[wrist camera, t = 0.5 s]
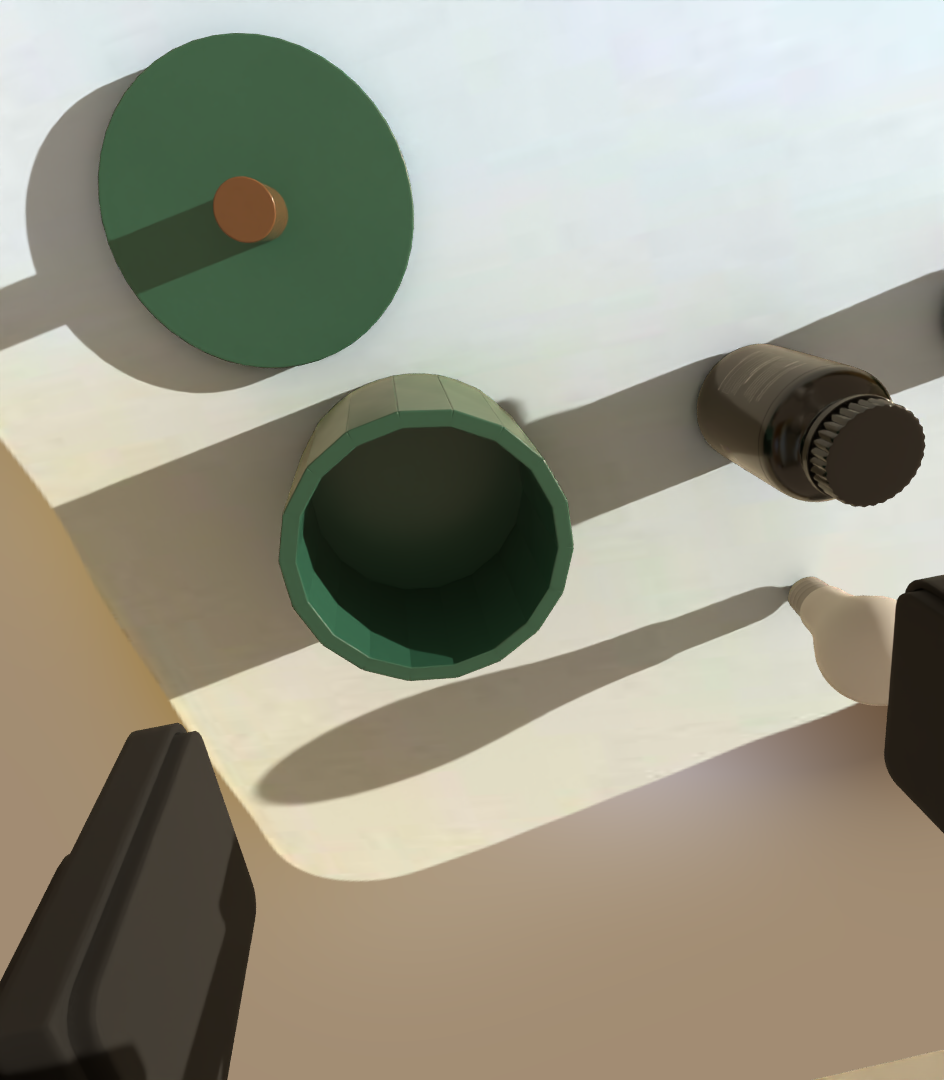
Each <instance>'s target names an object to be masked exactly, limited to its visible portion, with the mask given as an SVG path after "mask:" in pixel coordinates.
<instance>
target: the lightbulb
mask: <svg viewBox="0 0 944 1080" xmlns="http://www.w3.org/2000/svg"><path fill="white" fill-rule="evenodd" d="M788 601H789V604H790V606H791V607H792V608H793V609H794V610H795V612H796V613H797V614H798V615H799V616H800V617H801V620H802V623H803V624H804V625H805V627H806V628H807V629H808V630H809V631H810V633H811V634H812V636H813V644H814V651H815V657H816V662H817V665H818V667H819V669H820V671H821V673H822V675H823V677H824V678H825V679H826V681H827V682H828V683H829V684H830V685H831V686H832V687H833V688H834V689H835V690H836V691H838V692H839V693H840V694H842V695H844V696H845V697H847V698H849V699H852V700H854V701H856V702H859V703H862V704H868V705H880V706H886V705H888V699H889V686H890V673H891V661H892V648H893V635H894V622H895V609H896V602H897V600H895V599H892V598H888V597H884V596H864V595H862V596H854V595H851V594H848V593H846V592H845V591H843V590H841V589H839V588H837V587H833V586H829V585H828V584H826V583H825V582H823V581H822V580H820V579H818V578H816V577H805V578H802V579H800V580H798V581H797V582H796V583H795V584H794V585H793V586H792V587H791V589H790V591H789V595H788Z"/></svg>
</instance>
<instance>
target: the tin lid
mask: <svg viewBox="0 0 944 1080" xmlns="http://www.w3.org/2000/svg"><path fill="white" fill-rule="evenodd" d="M98 195H99V204H100V211H101V218H102V223H103V226H104V230H105V233H106V237H107V241H108V244H109V246H110V249H111V251H112V253H113V256H114V258H115V261H116V263H117V265H118V267H119V269H120V270H121V272H122V274H123V276H124V278H125V280H126V281H127V283H128V285H129V286H130V287H131V289H132V290H133V292H134V293H135V294H136V296H137V297H138V299H139V300H140V301H141V302H142V303H143V305H144V306H145V307H146V308H147V309H148V310H149V311H150V312H151V313H152V315H153V316H154V317H155V318H156V319H157V320H159V321H160V322H161V323H162V324H163V325H164V326H165V327H166V328H168V329H169V330H170V331H171V332H172V333H174V334H175V335H177V336H178V337H180V338H181V339H183V340H184V341H185V342H187V343H188V344H190V345H192V346H194V347H196V348H198V349H199V350H201V351H203V352H205V353H207V354H210V355H212V356H215V357H217V358H220V359H223V360H225V361H229V362H233V363H237V364H241V365H245V366H253V367H261V368H285V367H292V366H300V365H304V364H308V363H312V362H315V361H319V360H321V359H324V358H326V357H328V356H331V355H333V354H335V353H337V352H339V351H341V350H342V349H344V348H346V347H347V346H349V345H351V344H352V343H353V342H355V341H356V340H357V339H358V338H360V337H361V336H362V335H363V334H365V333H366V332H367V331H368V330H369V329H370V328H371V327H372V326H373V325H374V324H375V323H376V322H377V320H378V319H379V318H380V317H381V316H382V314H383V313H384V311H385V310H386V309H387V307H388V306H389V304H390V303H391V301H392V299H393V297H394V296H395V294H396V292H397V290H398V288H399V286H400V284H401V281H402V278H403V276H404V273H405V271H406V268H407V264H408V260H409V256H410V251H411V247H412V238H413V229H414V210H413V199H412V191H411V184H410V180H409V176H408V172H407V168H406V164H405V161H404V159H403V156H402V153H401V151H400V148H399V145H398V143H397V141H396V139H395V137H394V135H393V133H392V131H391V129H390V127H389V125H388V123H387V122H386V120H385V119H384V117H383V116H382V114H381V113H380V111H379V110H378V108H377V107H376V106H375V104H374V103H373V101H372V100H371V99H370V98H369V97H368V96H367V95H366V93H365V92H364V91H363V90H362V89H361V88H360V87H359V86H358V85H357V84H356V83H355V82H354V81H353V80H352V79H351V78H350V77H348V76H347V75H346V74H345V73H344V72H343V71H342V70H341V69H339V68H338V67H336V66H335V65H333V64H332V63H330V62H329V61H327V60H326V59H325V58H323V57H322V56H320V55H318V54H316V53H314V52H312V51H310V50H308V49H306V48H304V47H302V46H300V45H297V44H294V43H291V42H288V41H285V40H282V39H280V38H275V37H270V36H264V35H259V34H245V33H231V34H221V35H212V36H209V37H205V38H201V39H197V40H193V41H191V42H188V43H186V44H184V45H182V46H179V47H177V48H175V49H173V50H171V51H170V52H168V53H166V54H165V55H163V56H162V57H160V58H159V59H157V60H156V61H154V62H153V63H152V64H151V65H150V66H149V67H148V68H147V69H145V70H144V71H143V72H142V73H141V74H140V75H139V76H138V77H137V78H136V79H135V81H134V82H133V83H132V84H131V86H130V87H129V88H128V89H127V91H126V92H125V93H124V95H123V97H122V98H121V100H120V102H119V104H118V105H117V107H116V109H115V110H114V112H113V115H112V117H111V120H110V122H109V125H108V127H107V130H106V133H105V137H104V141H103V145H102V149H101V153H100V162H99V171H98Z"/></svg>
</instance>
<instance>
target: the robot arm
mask: <svg viewBox="0 0 944 1080" xmlns="http://www.w3.org/2000/svg"><path fill="white" fill-rule="evenodd" d="M884 756H885V763H886V767H887V769H888V772H889V774H890V776H891V778H892V779H893V781H894V782H895V783H896V784H897V785H898V786H899V787H900V788H901V789H902V791H904V792H905V793H906V795H907V796H908V797H909V798H910V799H911V800H912V801H913V802H914V803H915V804H916V805H917V806H918V807H919V808H920V809H921V810H922V811H923V812H924V813H925V814H926V815H927V816H928V817H929V818H930V819H931V821H932V822H933V823H934V824H935V825H936V826H937V827H938V828H939V829H940V830H941V831H942V832H943V833H944V575H940V576H935V577H930V578H925V579H920V580H915V581H913V582H911V583H910V584H909V585H908V587H907V589H906V592H905V593H904V594H902V595H900V596H899V598H898V599H897V602H896V609H895V622H894V635H893V648H892V661H891V673H890V686H889V699H888V712H887V726H886V738H885V751H884ZM255 915H256V899H255V892H254V887H253V884H252V881H251V878H250V875H249V872H248V869H247V866H246V863H245V860H244V857H243V854H242V852H241V849H240V846H239V843H238V840H237V837H236V834H235V831H234V828H233V826H232V823H231V820H230V817H229V814H228V811H227V808H226V805H225V803H224V800H223V797H222V794H221V791H220V788H219V785H218V782H217V779H216V776H215V773H214V771H213V768H212V765H211V762H210V759H209V756H208V753H207V750H206V747H205V744H204V742H203V739H202V737H201V735H200V734H199V733H198V732H197V731H193V732H188V733H187V732H186V730H185V728H184V727H183V726H182V725H181V724H179V723H174V724H169V725H164V726H159V727H154V728H149V729H143V730H138V731H135V732H132V733H131V734H130V735H129V737H128V738H127V740H126V742H125V744H124V746H123V748H122V750H121V753H120V754H119V756H118V758H117V760H116V762H115V764H114V766H113V768H112V771H111V773H110V774H109V777H108V779H107V781H106V783H105V785H104V787H103V789H102V791H101V793H100V795H99V797H98V799H97V801H96V803H95V805H94V807H93V809H92V811H91V813H90V815H89V817H88V819H87V821H86V823H85V825H84V827H83V829H82V831H81V833H80V835H79V837H78V839H77V842H76V843H75V845H74V847H73V849H72V851H71V853H70V854H69V855H67V856H66V857H65V858H64V859H63V861H62V862H61V864H60V865H59V867H58V868H57V870H56V872H55V874H54V876H53V878H52V880H51V882H50V884H49V886H48V888H47V890H46V892H45V894H44V896H43V898H42V900H41V902H40V904H39V906H38V908H37V910H36V912H35V914H34V916H33V918H32V920H31V922H30V924H29V926H28V928H27V930H26V932H25V934H24V936H23V938H22V940H21V942H20V944H19V946H18V948H17V950H16V952H15V954H14V955H13V957H12V959H11V961H10V963H9V965H8V967H7V969H6V971H5V973H4V975H3V977H2V979H1V981H0V1080H227V1078H228V1072H229V1066H230V1060H231V1055H232V1049H233V1043H234V1037H235V1032H236V1026H237V1020H238V1014H239V1009H240V1003H241V997H242V991H243V985H244V980H245V974H246V968H247V963H248V957H249V950H250V945H251V940H252V933H253V927H254V922H255ZM814 1080H944V1050H939V1051H935V1052H931V1053H926V1054H922V1055H918V1056H913V1057H909V1058H905V1059H901V1060H896V1061H892V1062H888V1063H883V1064H879V1065H874V1066H870V1067H866V1068H861V1069H857V1070H853V1071H849V1072H844V1073H840V1074H835V1075H831V1076H827V1077H823V1078H818V1079H814Z"/></svg>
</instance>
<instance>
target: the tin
mask: <svg viewBox="0 0 944 1080" xmlns="http://www.w3.org/2000/svg"><path fill="white" fill-rule="evenodd" d="M573 545H574V544H573V537H572V529H571V522H570V515H569V508H568V502H567V498H566V497H565V495H564V493H563V491H562V490H561V488H560V486H559V484H558V483H557V481H556V479H555V477H554V475H553V474H552V472H551V470H550V468H549V467H548V465H547V463H546V461H545V460H544V458H543V457H542V456H541V454H540V453H539V452H538V450H537V449H536V448H535V447H534V445H533V444H532V443H531V441H530V440H529V439H528V437H527V436H526V435H525V433H524V432H523V431H522V430H521V428H520V427H519V426H518V424H517V423H516V422H515V420H514V419H513V418H512V417H511V415H510V414H509V413H507V412H506V411H505V410H504V409H503V408H501V407H500V406H499V405H498V404H497V403H496V402H495V401H493V400H492V399H491V398H490V397H488V396H487V395H486V394H484V393H483V392H482V391H481V390H479V389H477V388H475V387H472V386H470V385H468V384H465V383H463V382H461V381H458V380H455V379H452V378H448V377H444V376H440V375H432V374H403V375H395V376H390V377H387V378H383V379H379V380H376V381H374V382H372V383H369V384H367V385H364V386H362V387H360V388H359V389H357V390H355V391H353V392H352V393H350V394H349V395H347V396H346V397H345V398H343V399H342V400H341V401H340V402H338V403H337V404H336V405H335V406H334V407H333V408H332V409H331V410H330V411H329V412H328V413H327V414H326V415H325V416H324V417H323V418H322V419H321V420H320V422H319V423H318V424H317V426H316V428H315V430H314V432H313V434H312V436H311V438H310V440H309V442H308V444H307V446H306V448H305V450H304V452H303V454H302V456H301V459H300V461H299V465H298V468H297V471H296V474H295V477H294V480H293V483H292V486H291V490H290V493H289V496H288V499H287V502H286V505H285V508H284V511H283V515H282V527H281V538H280V550H279V565H280V568H281V572H282V575H283V578H284V581H285V585H286V588H287V591H288V594H289V598H290V601H291V604H292V607H293V608H294V610H295V611H296V612H297V614H298V615H299V616H300V617H301V619H302V620H303V621H304V623H305V624H306V625H307V626H308V628H309V629H310V630H311V631H312V633H313V634H314V635H315V636H316V638H317V639H318V640H319V641H320V643H321V644H323V646H325V647H326V648H328V649H330V650H331V651H333V652H334V653H336V654H338V655H339V656H341V657H342V658H344V659H346V660H347V661H349V662H351V663H352V664H354V665H355V666H357V667H359V668H360V669H363V670H365V671H369V672H373V673H377V674H381V675H386V676H390V677H394V678H398V679H402V680H407V681H416V680H430V679H445V678H456V677H460V676H463V675H465V674H468V673H471V672H473V671H476V670H478V669H481V668H484V667H486V666H489V665H491V664H494V663H497V662H499V661H501V660H502V659H503V658H505V657H506V656H507V655H508V654H510V653H511V652H512V651H513V650H515V649H516V648H517V647H519V646H520V645H521V644H522V643H524V642H525V641H526V640H527V639H529V638H530V637H531V636H532V635H534V634H535V633H536V632H537V631H538V630H539V629H540V627H541V626H542V624H543V623H544V621H545V620H546V618H547V617H548V615H549V614H550V612H551V610H552V609H553V607H554V606H555V604H556V603H557V601H558V600H559V598H560V597H561V595H562V594H563V591H564V587H565V583H566V579H567V574H568V570H569V566H570V562H571V557H572V553H573V549H574V548H573Z"/></svg>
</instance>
